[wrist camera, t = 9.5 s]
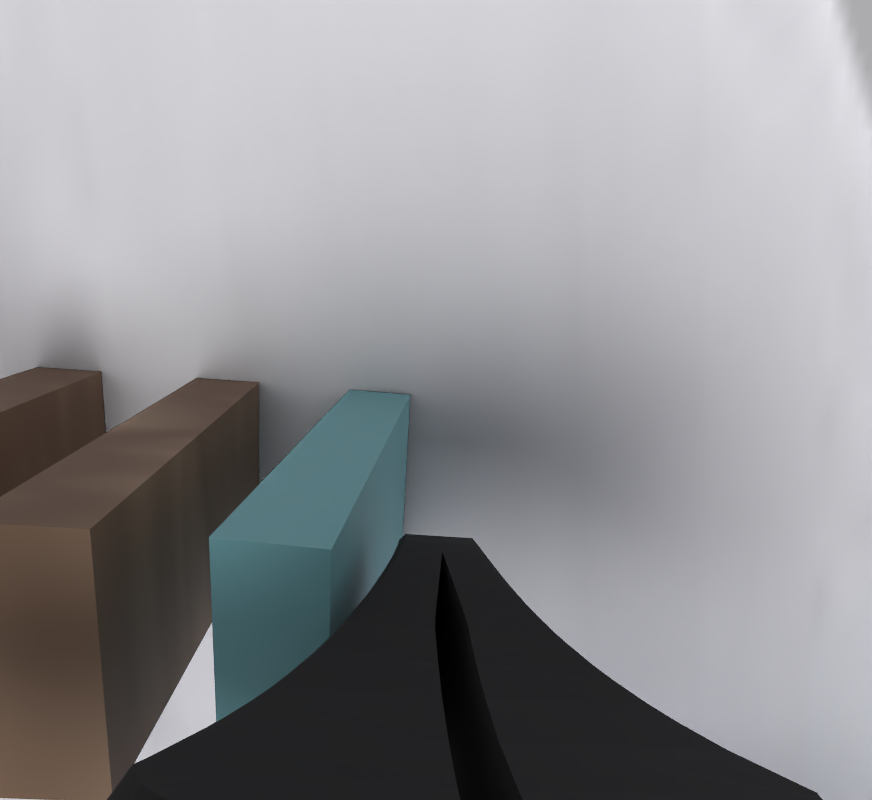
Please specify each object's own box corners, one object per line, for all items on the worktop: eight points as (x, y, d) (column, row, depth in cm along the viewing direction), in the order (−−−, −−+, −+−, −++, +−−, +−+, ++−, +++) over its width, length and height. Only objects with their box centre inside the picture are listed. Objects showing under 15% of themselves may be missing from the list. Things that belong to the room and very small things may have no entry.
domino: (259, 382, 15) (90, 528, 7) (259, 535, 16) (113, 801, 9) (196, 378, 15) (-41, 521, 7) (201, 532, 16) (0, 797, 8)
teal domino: (410, 394, 15) (330, 550, 7) (401, 547, 16) (325, 819, 9) (349, 389, 15) (208, 537, 7) (345, 541, 16) (219, 805, 9)
